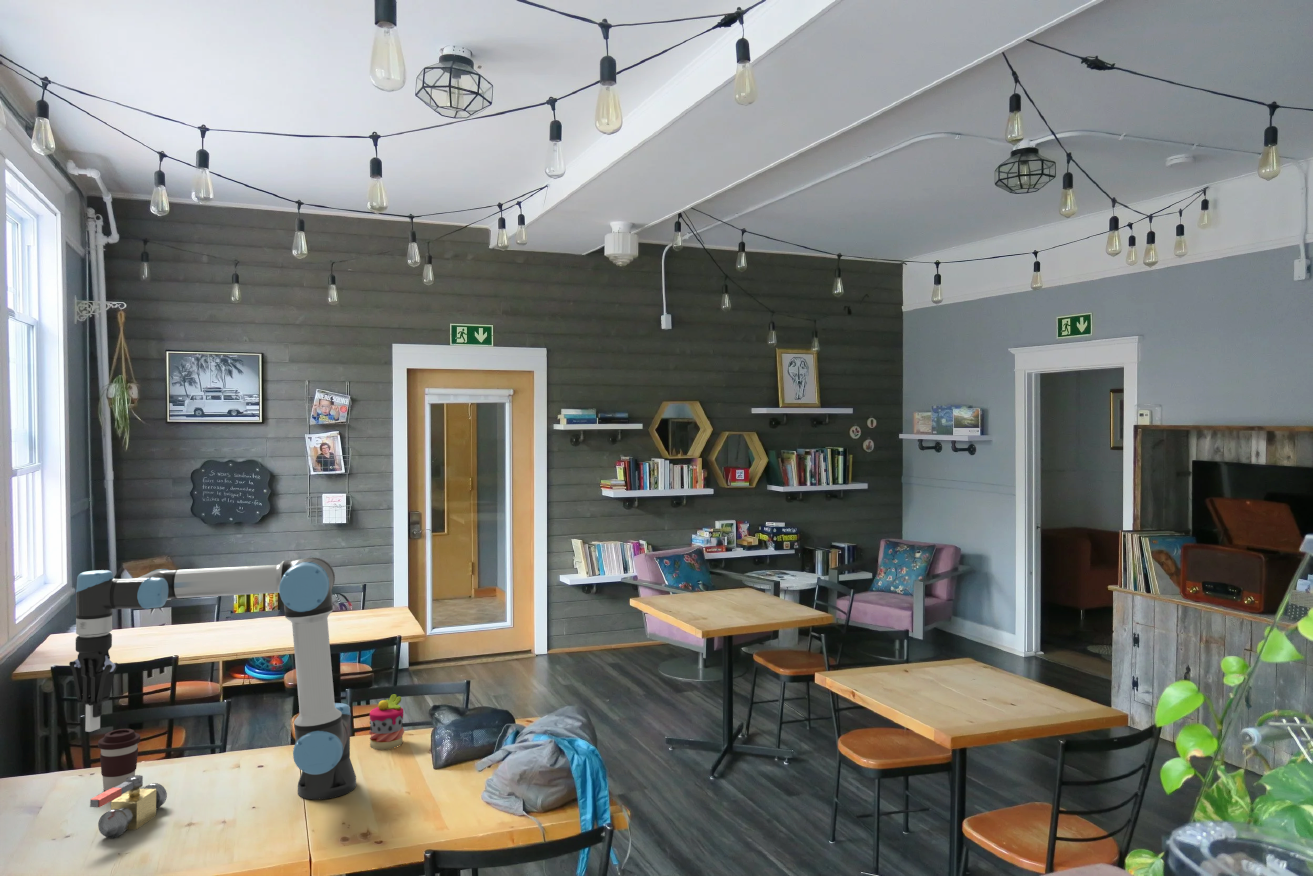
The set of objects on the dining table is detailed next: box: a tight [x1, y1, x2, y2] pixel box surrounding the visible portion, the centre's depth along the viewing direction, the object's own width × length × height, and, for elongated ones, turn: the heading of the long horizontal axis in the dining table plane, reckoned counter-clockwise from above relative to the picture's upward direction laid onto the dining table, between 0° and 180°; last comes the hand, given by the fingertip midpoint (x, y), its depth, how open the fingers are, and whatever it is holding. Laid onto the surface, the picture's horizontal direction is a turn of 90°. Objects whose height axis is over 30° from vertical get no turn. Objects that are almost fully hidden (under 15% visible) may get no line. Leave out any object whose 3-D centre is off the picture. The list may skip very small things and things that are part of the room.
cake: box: [368, 694, 405, 751], centre depth 271 cm, size 10×11×15 cm
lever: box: [89, 774, 144, 808], centre depth 209 cm, size 15×4×2 cm, turn 173°
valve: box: [97, 782, 168, 839], centre depth 214 cm, size 20×6×9 cm, turn 179°
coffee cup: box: [97, 728, 141, 791], centre depth 236 cm, size 10×10×15 cm
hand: (92, 729), depth 210 cm, fingers closed
